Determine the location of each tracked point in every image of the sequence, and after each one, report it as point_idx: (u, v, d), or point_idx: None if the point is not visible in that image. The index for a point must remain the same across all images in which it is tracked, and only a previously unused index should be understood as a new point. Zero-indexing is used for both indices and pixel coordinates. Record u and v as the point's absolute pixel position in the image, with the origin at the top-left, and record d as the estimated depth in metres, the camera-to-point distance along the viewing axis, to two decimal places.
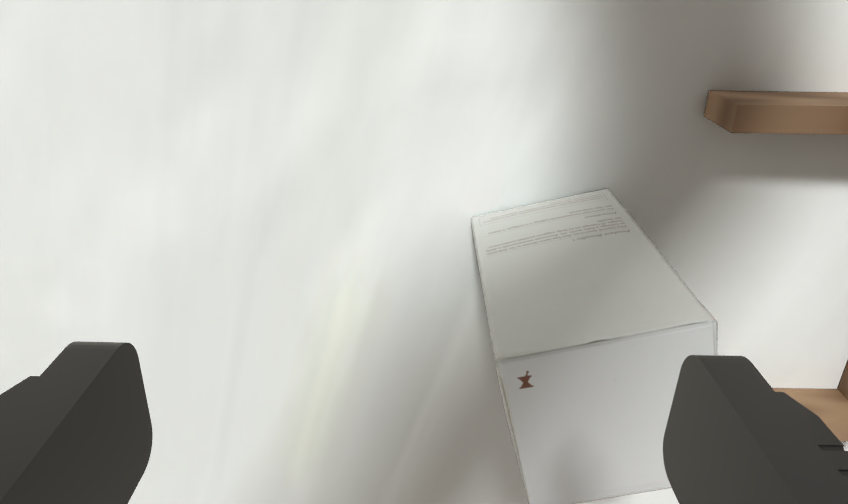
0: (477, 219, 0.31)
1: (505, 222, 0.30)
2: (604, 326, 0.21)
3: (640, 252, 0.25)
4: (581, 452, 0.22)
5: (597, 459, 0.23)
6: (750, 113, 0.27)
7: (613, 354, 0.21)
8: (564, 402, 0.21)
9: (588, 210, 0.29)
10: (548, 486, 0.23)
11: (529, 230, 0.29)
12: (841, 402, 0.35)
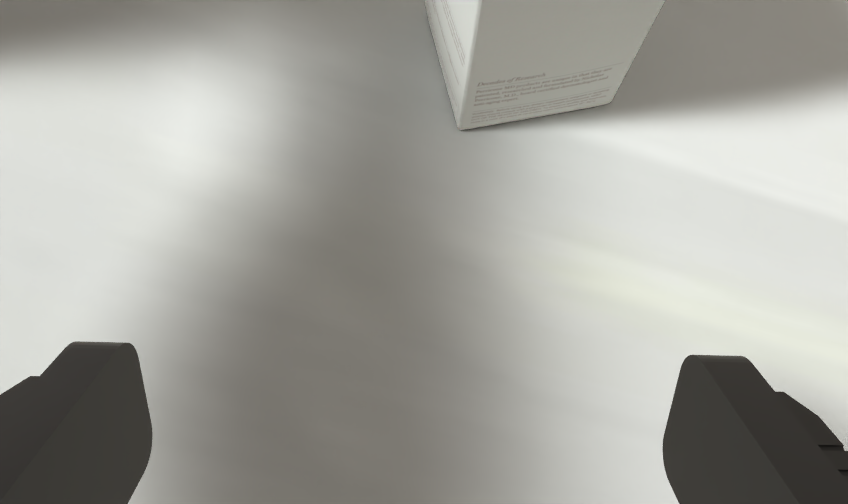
0: (457, 117, 0.27)
1: (451, 76, 0.27)
2: None
3: None
4: None
5: None
6: None
7: None
8: None
9: None
10: None
11: (447, 35, 0.25)
12: None
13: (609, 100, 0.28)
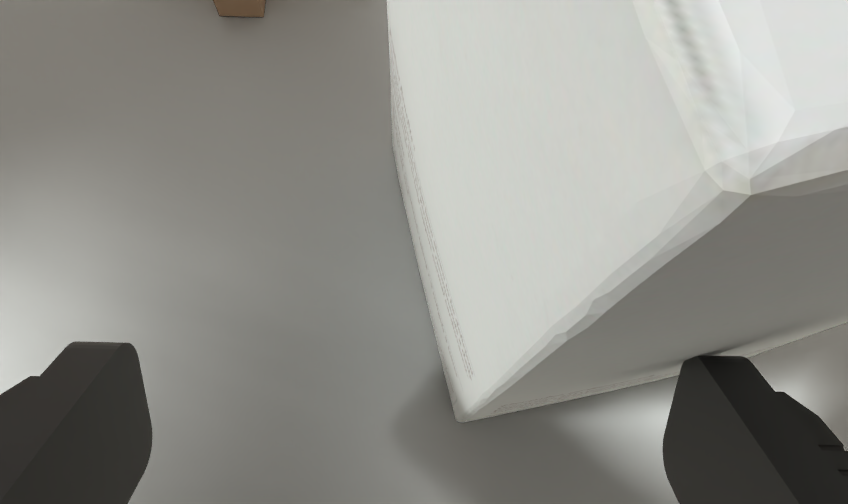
0: (454, 406, 0.13)
1: (441, 337, 0.13)
2: None
3: None
4: None
5: None
6: None
7: None
8: None
9: (401, 157, 0.13)
10: None
11: (432, 272, 0.12)
12: None
13: (756, 354, 0.14)
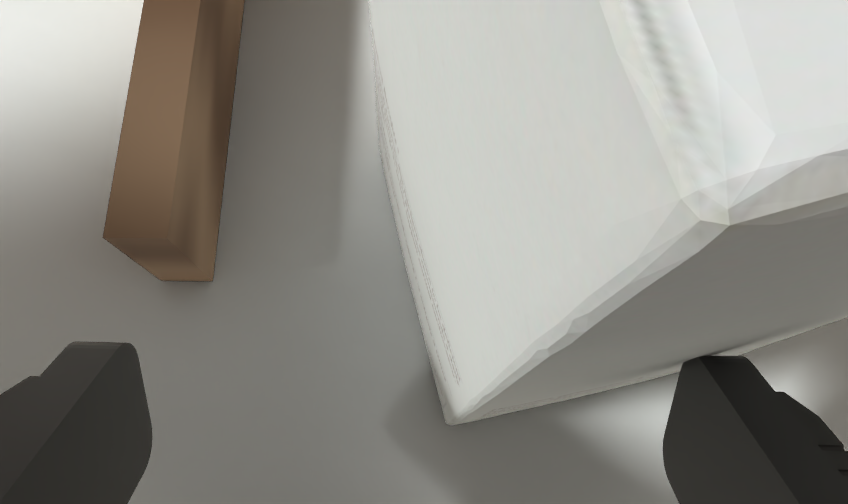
0: (444, 409, 0.13)
1: (429, 341, 0.12)
2: None
3: None
4: None
5: None
6: (127, 207, 0.12)
7: None
8: None
9: (387, 158, 0.13)
10: None
11: (419, 276, 0.11)
12: None
13: (746, 352, 0.14)
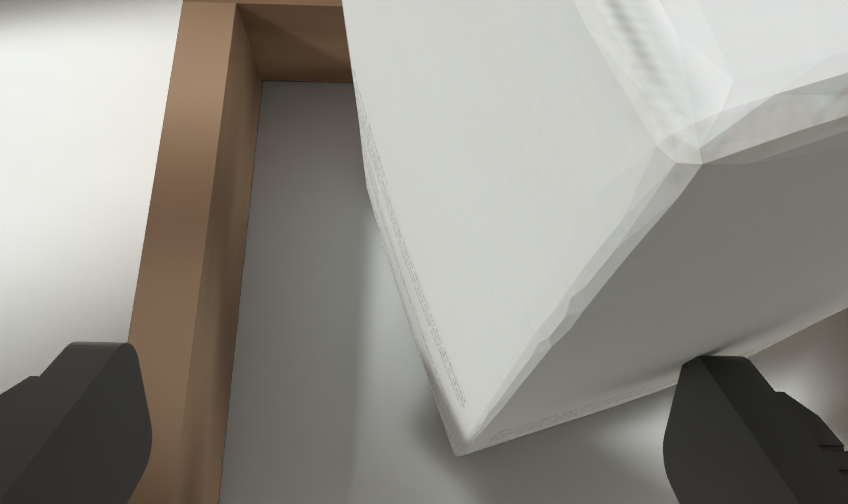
0: (451, 439, 0.13)
1: (431, 370, 0.13)
2: None
3: None
4: None
5: None
6: None
7: None
8: None
9: (376, 195, 0.13)
10: None
11: (416, 304, 0.12)
12: None
13: None
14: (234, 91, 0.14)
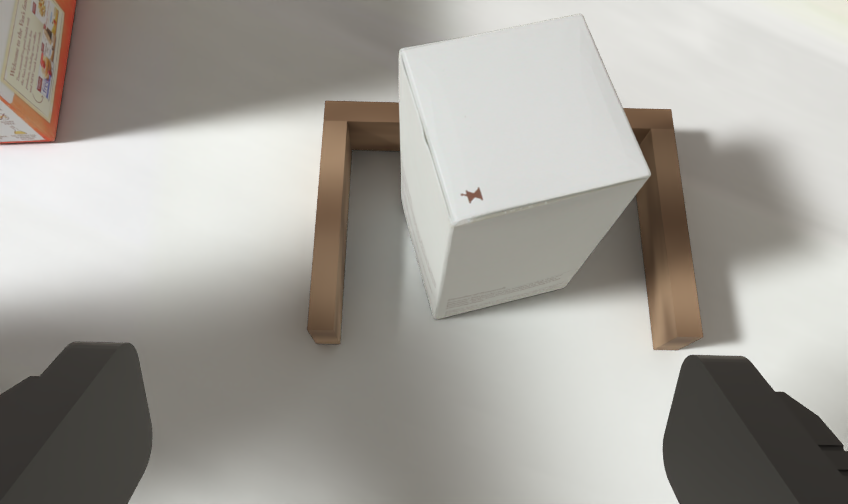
0: (432, 311, 0.32)
1: (425, 280, 0.31)
2: (419, 137, 0.22)
3: (402, 141, 0.27)
4: (558, 134, 0.21)
5: (566, 118, 0.22)
6: (316, 316, 0.29)
7: (437, 121, 0.22)
8: (496, 157, 0.21)
9: (406, 206, 0.32)
10: (611, 160, 0.21)
11: (421, 252, 0.30)
12: None
13: (564, 286, 0.32)
14: (346, 160, 0.32)
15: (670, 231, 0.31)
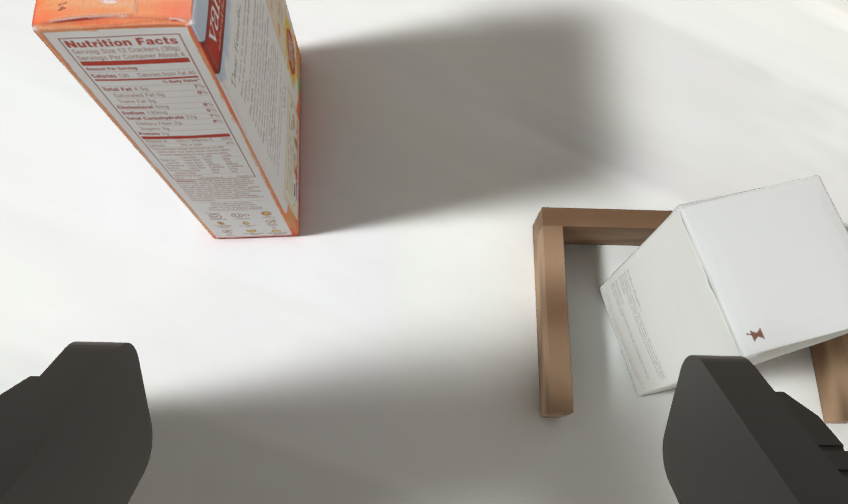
0: (639, 390, 0.37)
1: (638, 365, 0.37)
2: (697, 280, 0.28)
3: (641, 260, 0.33)
4: (816, 283, 0.27)
5: (820, 269, 0.27)
6: (557, 400, 0.35)
7: (718, 271, 0.27)
8: (770, 302, 0.27)
9: (618, 301, 0.37)
10: None
11: (640, 345, 0.35)
12: None
13: None
14: None
15: None
